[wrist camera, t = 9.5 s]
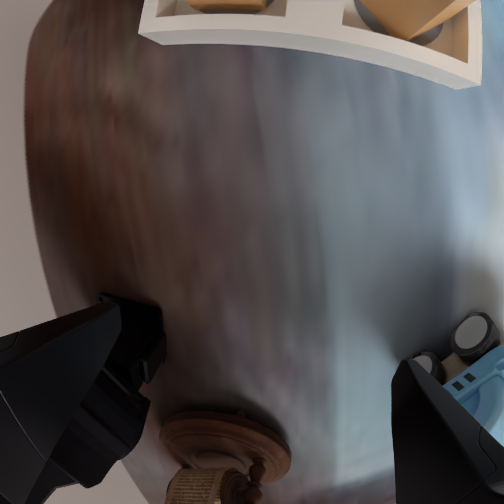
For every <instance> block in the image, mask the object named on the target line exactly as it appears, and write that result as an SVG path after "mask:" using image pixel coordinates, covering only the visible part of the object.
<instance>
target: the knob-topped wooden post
mask: <svg viewBox="0 0 504 504" xmlns="http://www.w3.org/2000/svg"><path fill="white" fill-rule="evenodd" d="M359 1H360V2H361V3H362V4H363V5H364V6H365V7H366V8H367V9H368V10H369V12H370V13H371V14H372V15H373V16H374V17H375V18H376V19H377V20H378V22H379V23H380V24H381V25H382V26H383V27H384V29H385V30H386V31H387V32H388V33H389V35H390V36H391V37H394V38H398V39H401V40H404V41H410V40H412V39H414V38H415V37H417V36H419V35H421V34H423V33H425V32H426V31H428V30H430V29H432V28H434V27H436V26H438V25H439V24H441V23H443V22H445V21H447V20H448V19H450V18H451V17H453V16H454V15H455V14H457V13H458V12H460V11H461V10H463V9H464V8H465V7H467V6H468V5H470V4H471V3H473V2H474V1H476V0H359Z"/></svg>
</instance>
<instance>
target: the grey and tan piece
mask: <svg viewBox="0 0 504 504" xmlns="http://www.w3.org/2000/svg"><path fill="white" fill-rule="evenodd" d="M185 1H186V2H187V3H188V4H189V5H190V6H191V7H193V8H194V9H195V10H201V9H251V10H265V9H266V2H267V0H185Z"/></svg>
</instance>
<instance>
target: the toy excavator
mask: <svg viewBox="0 0 504 504" xmlns="http://www.w3.org/2000/svg"><path fill="white" fill-rule="evenodd" d="M451 348H452V350H453V351H454V353H453V354H452V355H450V356H449V357H447V358H446V359H444V360H443V361H442V362H440V360H439V359H438V358H437V357H436V355H435V354H434V353H432V352H426V351H422V352H421V355H420V356H418V357H415V358H413V357H414V355H412V356H411V357H410V358H409V359H412V358H413V360H416V361H417V362H418V363H419V364H420V365H421V366H422V367H423V368H424V369H425V370H426V371H427V372H428V373H429V374H430V375H431V376H433V377H434V378H435V379H436V380H437V381H438V382H439V383H440V384H441V385H442V386H443V387H444V388H445V389H446V390H447V391H448V392H449V393H450V394H451V395H452V396H453V397H454V398H455V399H456V400H457V401H458V402H459V403H460V404H461V405H462V406H463V407H464V408H465V409H466V410H467V411H468V412H469V413H470V414H471V415H472V416H473V417H474V418H475V419H476V420H477V421H478V422H479V423H480V424H481V426H483V427H484V428H485V429H486V430H487V431H488V432H489V433H490V434H491V435H492V436H493V437H494V438H495V439H496V440H497V441H498V442H499V443H500V444H501V445H502V446H503V447H504V344H503V342H502V341H501V339H500V334H499V331H498V329H497V327H496V326H495V324H494V322H493V321H492V320H491V318H490V317H489V316H488V315H487V314H486V313H482V312H475V313H472V314H469V315H468V316H467V319H466V320H464V321H463V322H462V323H461V324H460V325H459V326H458V327H457V328H456V329H455V330H454V331H453V333H452V336H451Z"/></svg>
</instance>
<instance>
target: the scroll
mask: <svg viewBox="0 0 504 504" xmlns="http://www.w3.org/2000/svg"><path fill="white" fill-rule="evenodd" d="M159 440H160V444H161V446H162V448H163V450H164V451H165V453H166V454H167V455H168V456H169V457H170V458H171V459H172V460H173V461H174V462H175V463H176V464H177V465H179V466H180V467H181V468H182V469H180V470H179V471H178V472H177V473H176V474H175V476H174V477H173V478H172V480H171V481H170V483H169V485H168V487H167V493H166V500H165V504H258V503H260V502H261V500H262V497H263V495H262V492H261V491H260V490H259V489H260V488H262V486H263V484H267V483H271V482H274V481H276V480H278V479H280V478H282V477H283V476H284V475H285V474H286V473H287V472H288V471H289V469H290V465H291V451H290V448H289V446H288V445H287V444H286V442H285V441H284V440H283V439H282V438H281V437H280V436H278V435H277V434H276V433H274V432H273V431H271V430H270V429H268V428H266V427H264V426H262V425H260V424H258V423H256V422H253V421H250V420H248V419H246V415H245V411H244V410H242V409H241V410H239V411H238V412H237V413H236V414H235V415H230V414H226V413H220V412H213V411H188V412H182V413H179V414H176V415H174V416H172V417H170V418H169V419H167V420H166V422H165V423H164V425H163V427H162V429H161V431H160V434H159Z"/></svg>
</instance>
